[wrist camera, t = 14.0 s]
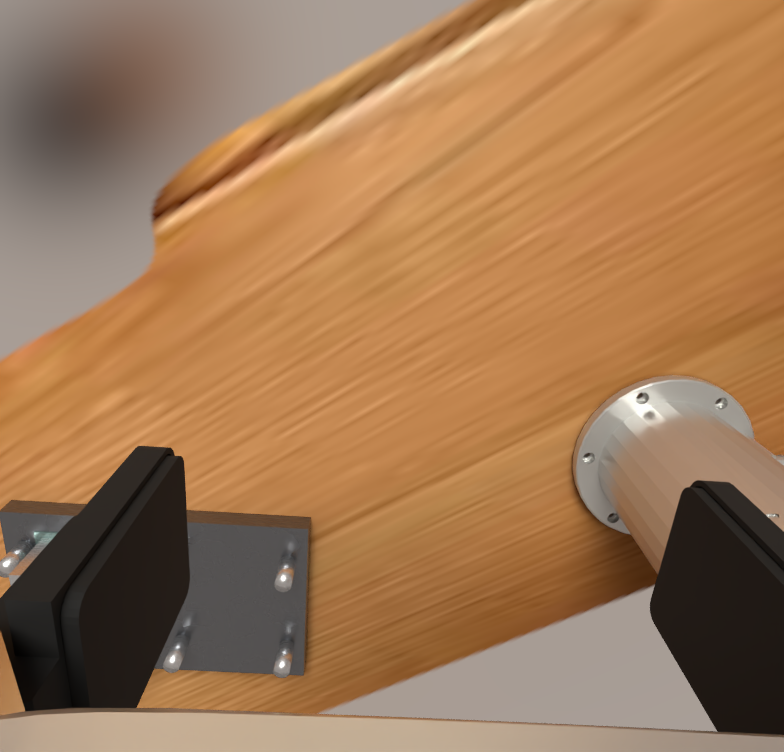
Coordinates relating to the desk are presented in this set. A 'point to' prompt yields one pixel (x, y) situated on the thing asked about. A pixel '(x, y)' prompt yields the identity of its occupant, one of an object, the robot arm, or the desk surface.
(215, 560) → the tray
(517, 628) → the desk surface
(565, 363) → the desk surface
